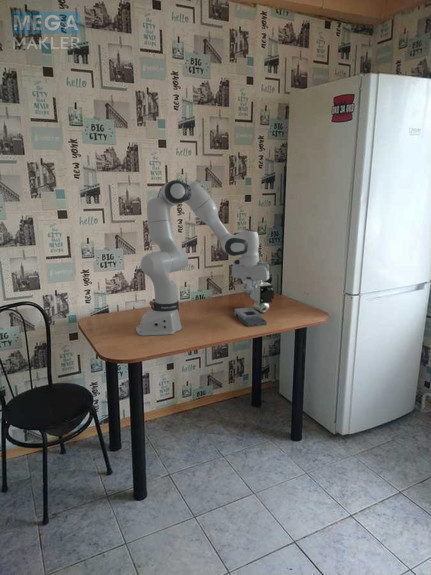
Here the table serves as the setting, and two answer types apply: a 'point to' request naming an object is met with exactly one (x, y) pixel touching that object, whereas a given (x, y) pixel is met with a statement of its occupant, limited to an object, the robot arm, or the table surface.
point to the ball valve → (262, 295)
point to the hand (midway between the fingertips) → (250, 287)
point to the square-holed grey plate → (250, 316)
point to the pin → (249, 285)
